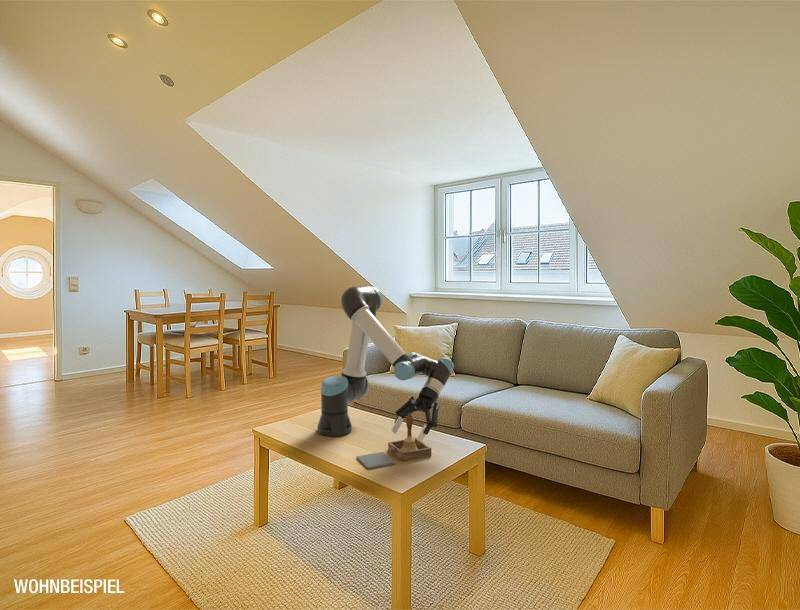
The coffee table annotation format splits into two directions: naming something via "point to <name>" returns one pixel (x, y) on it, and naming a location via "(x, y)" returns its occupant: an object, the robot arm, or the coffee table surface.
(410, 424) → the hand bell
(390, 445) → the brown wooden square frame
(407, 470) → the coffee table surface
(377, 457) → the grey rubber pad
